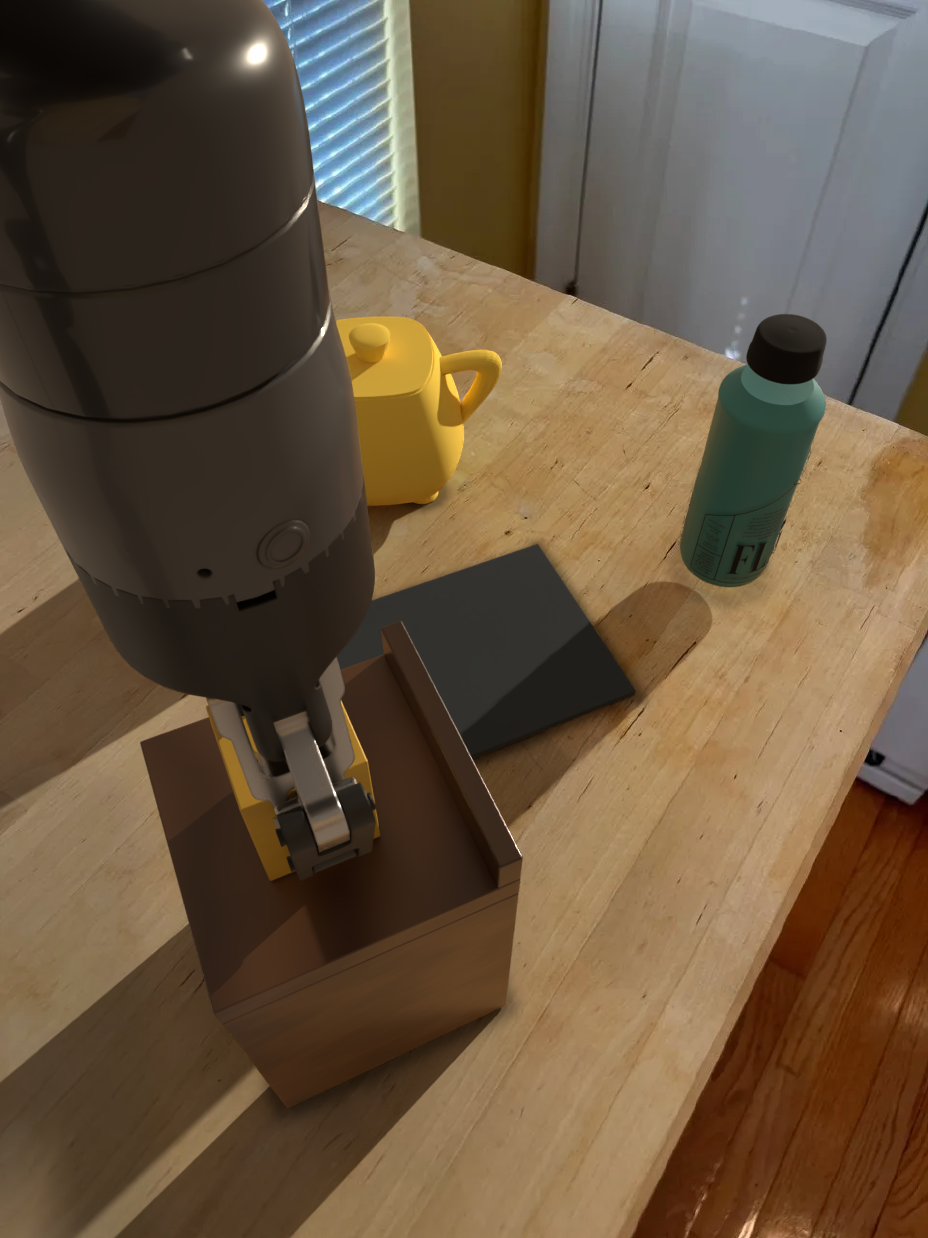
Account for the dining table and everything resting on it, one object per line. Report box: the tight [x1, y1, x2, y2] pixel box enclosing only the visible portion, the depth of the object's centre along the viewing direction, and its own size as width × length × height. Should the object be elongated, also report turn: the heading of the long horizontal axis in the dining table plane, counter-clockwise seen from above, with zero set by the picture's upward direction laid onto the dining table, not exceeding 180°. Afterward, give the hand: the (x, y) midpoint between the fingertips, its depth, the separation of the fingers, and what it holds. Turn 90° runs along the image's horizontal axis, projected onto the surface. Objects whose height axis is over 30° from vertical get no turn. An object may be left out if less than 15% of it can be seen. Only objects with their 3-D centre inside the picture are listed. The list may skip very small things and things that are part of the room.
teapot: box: [335, 315, 503, 507], centre depth 69 cm, size 13×20×12 cm
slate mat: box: [337, 543, 637, 760], centre depth 62 cm, size 18×14×1 cm
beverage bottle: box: [677, 313, 828, 588], centre depth 60 cm, size 6×7×20 cm
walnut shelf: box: [139, 621, 524, 1109], centre depth 44 cm, size 12×12×19 cm
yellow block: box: [205, 701, 380, 881], centre depth 35 cm, size 4×4×6 cm
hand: (303, 795), depth 36 cm, fingers closed on yellow block, 4 cm apart
